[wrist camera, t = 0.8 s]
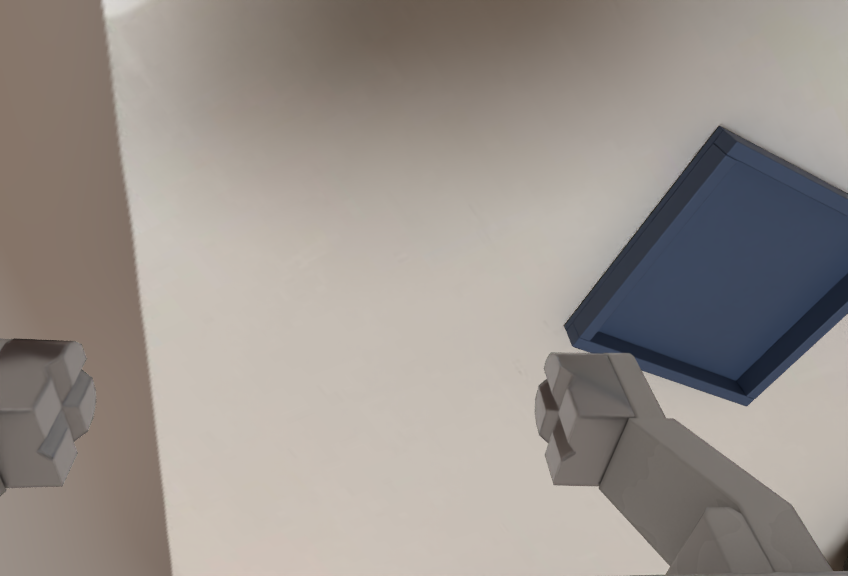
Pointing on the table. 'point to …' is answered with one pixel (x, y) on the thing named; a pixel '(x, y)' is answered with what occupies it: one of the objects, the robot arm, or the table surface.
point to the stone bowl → (846, 565)
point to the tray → (725, 274)
